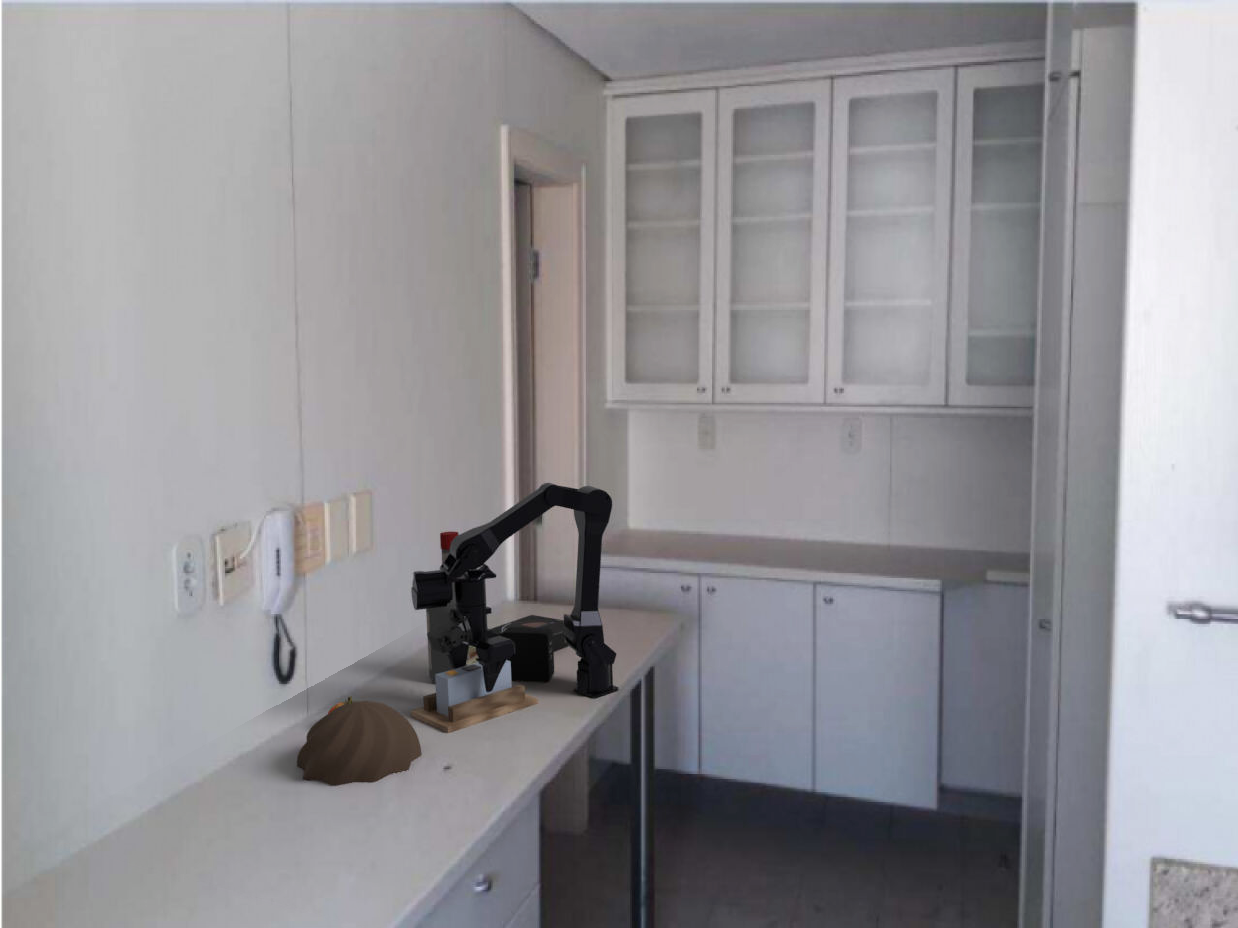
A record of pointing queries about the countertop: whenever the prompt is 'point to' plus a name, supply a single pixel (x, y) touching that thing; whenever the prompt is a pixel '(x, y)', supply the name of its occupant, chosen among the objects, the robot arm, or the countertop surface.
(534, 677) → the electronic device
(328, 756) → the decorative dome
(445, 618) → the liquor
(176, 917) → the countertop surface
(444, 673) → the power strip
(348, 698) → the tomato
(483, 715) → the dock
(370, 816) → the countertop surface
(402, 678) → the countertop surface
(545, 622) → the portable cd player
